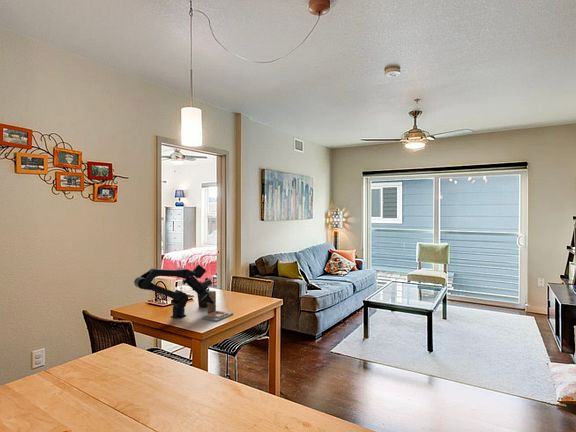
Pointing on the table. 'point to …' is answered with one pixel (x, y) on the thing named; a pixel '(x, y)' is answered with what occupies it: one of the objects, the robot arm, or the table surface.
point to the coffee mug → (202, 303)
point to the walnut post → (210, 306)
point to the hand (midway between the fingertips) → (213, 301)
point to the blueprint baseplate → (217, 316)
